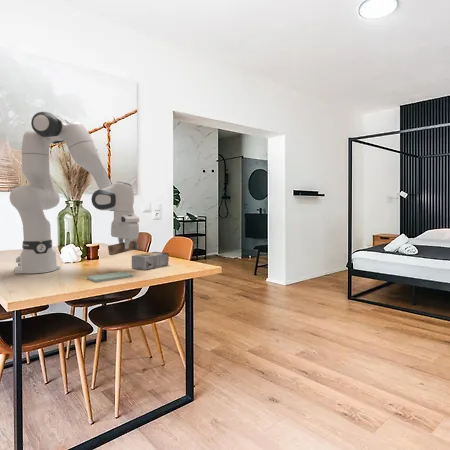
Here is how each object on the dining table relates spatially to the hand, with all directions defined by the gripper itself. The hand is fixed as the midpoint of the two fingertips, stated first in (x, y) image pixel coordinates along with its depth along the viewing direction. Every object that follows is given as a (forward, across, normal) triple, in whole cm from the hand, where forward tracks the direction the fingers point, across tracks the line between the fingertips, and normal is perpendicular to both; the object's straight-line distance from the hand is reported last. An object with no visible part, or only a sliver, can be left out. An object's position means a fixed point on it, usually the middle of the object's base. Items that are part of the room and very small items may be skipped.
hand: (124, 248), depth 162 cm
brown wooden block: (+2, 0, -1) cm, 2 cm away
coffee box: (+7, 0, +7) cm, 10 cm away
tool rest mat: (+11, +9, -11) cm, 18 cm away
